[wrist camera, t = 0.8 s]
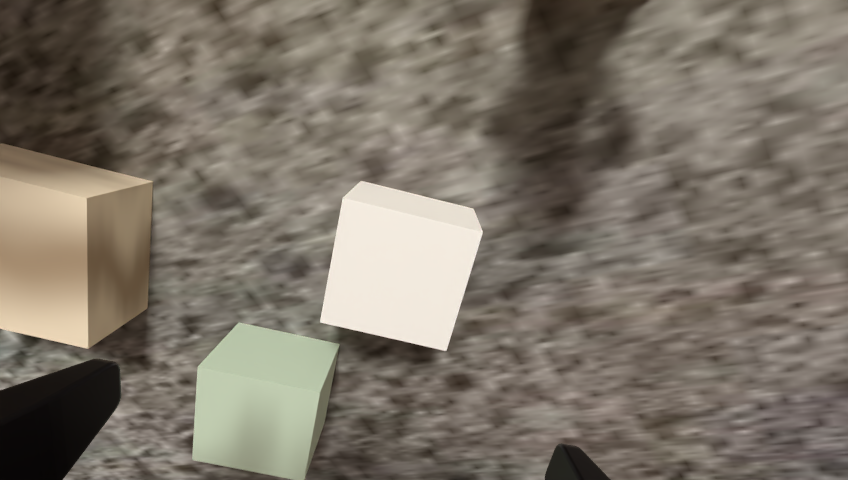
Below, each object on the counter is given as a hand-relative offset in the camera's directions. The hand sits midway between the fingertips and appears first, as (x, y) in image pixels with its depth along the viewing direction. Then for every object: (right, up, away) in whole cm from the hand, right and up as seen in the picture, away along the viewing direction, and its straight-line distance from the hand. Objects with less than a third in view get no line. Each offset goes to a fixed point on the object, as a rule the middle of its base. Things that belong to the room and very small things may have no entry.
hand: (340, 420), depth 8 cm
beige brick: (-16, +4, +12) cm, 20 cm away
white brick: (+1, +3, +12) cm, 12 cm away
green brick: (-6, -4, +14) cm, 16 cm away
